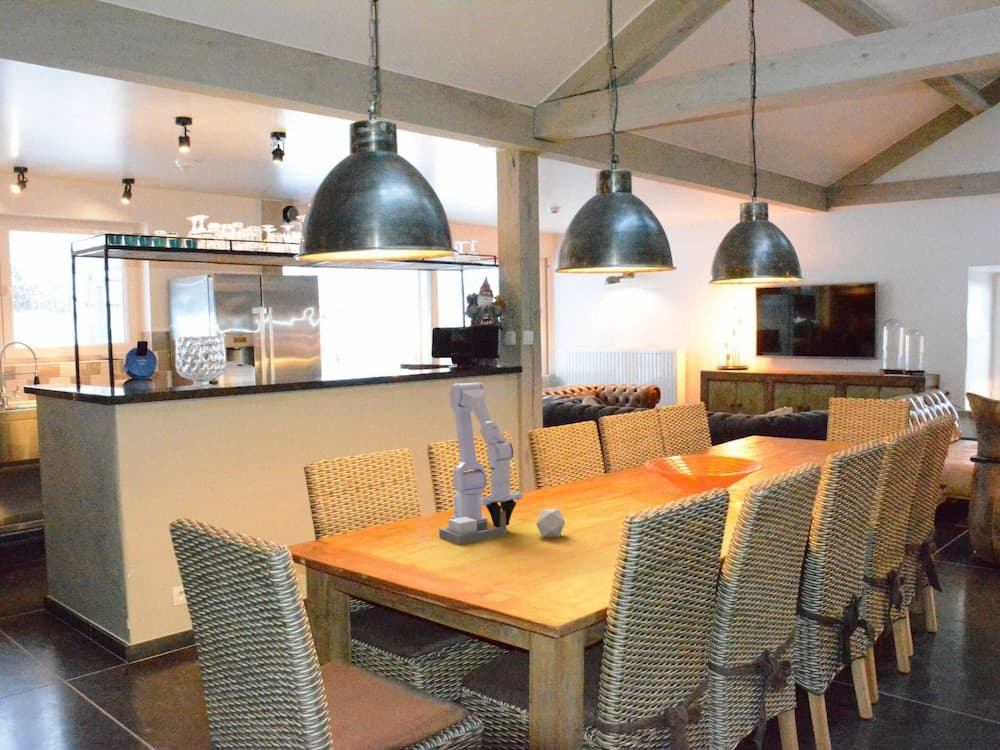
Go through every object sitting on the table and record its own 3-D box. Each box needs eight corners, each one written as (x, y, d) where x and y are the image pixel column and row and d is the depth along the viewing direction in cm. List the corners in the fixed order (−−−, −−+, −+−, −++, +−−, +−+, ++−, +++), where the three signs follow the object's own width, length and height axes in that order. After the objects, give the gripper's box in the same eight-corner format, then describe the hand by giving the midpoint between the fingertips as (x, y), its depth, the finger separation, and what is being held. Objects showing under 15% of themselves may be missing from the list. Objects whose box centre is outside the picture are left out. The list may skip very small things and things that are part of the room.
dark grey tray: (439, 537, 259) (439, 528, 258) (484, 528, 268) (484, 520, 268) (459, 544, 250) (459, 536, 250) (505, 535, 259) (505, 527, 259)
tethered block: (448, 538, 258) (448, 518, 257) (499, 528, 268) (499, 508, 268) (459, 542, 253) (459, 521, 252) (511, 532, 264) (510, 512, 263)
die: (556, 543, 252) (572, 514, 255) (530, 528, 254) (546, 499, 256) (554, 546, 260) (570, 518, 263) (529, 531, 261) (545, 503, 264)
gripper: (488, 486, 257) (489, 532, 258) (527, 480, 265) (528, 524, 266) (475, 483, 262) (475, 527, 263) (513, 477, 271) (514, 520, 272)
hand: (501, 525), depth 265 cm, fingers closed on tethered block, 3 cm apart
